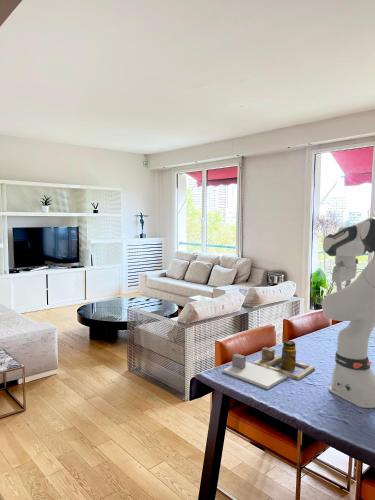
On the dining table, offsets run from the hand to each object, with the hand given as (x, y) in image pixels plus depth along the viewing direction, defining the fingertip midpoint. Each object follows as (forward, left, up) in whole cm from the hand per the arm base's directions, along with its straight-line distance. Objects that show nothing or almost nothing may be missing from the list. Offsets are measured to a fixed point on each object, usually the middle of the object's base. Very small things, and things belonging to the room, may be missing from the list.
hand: (343, 289), depth 181 cm
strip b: (-7, +48, -34) cm, 60 cm away
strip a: (-3, +32, -34) cm, 46 cm away
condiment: (-4, +31, -34) cm, 46 cm away
